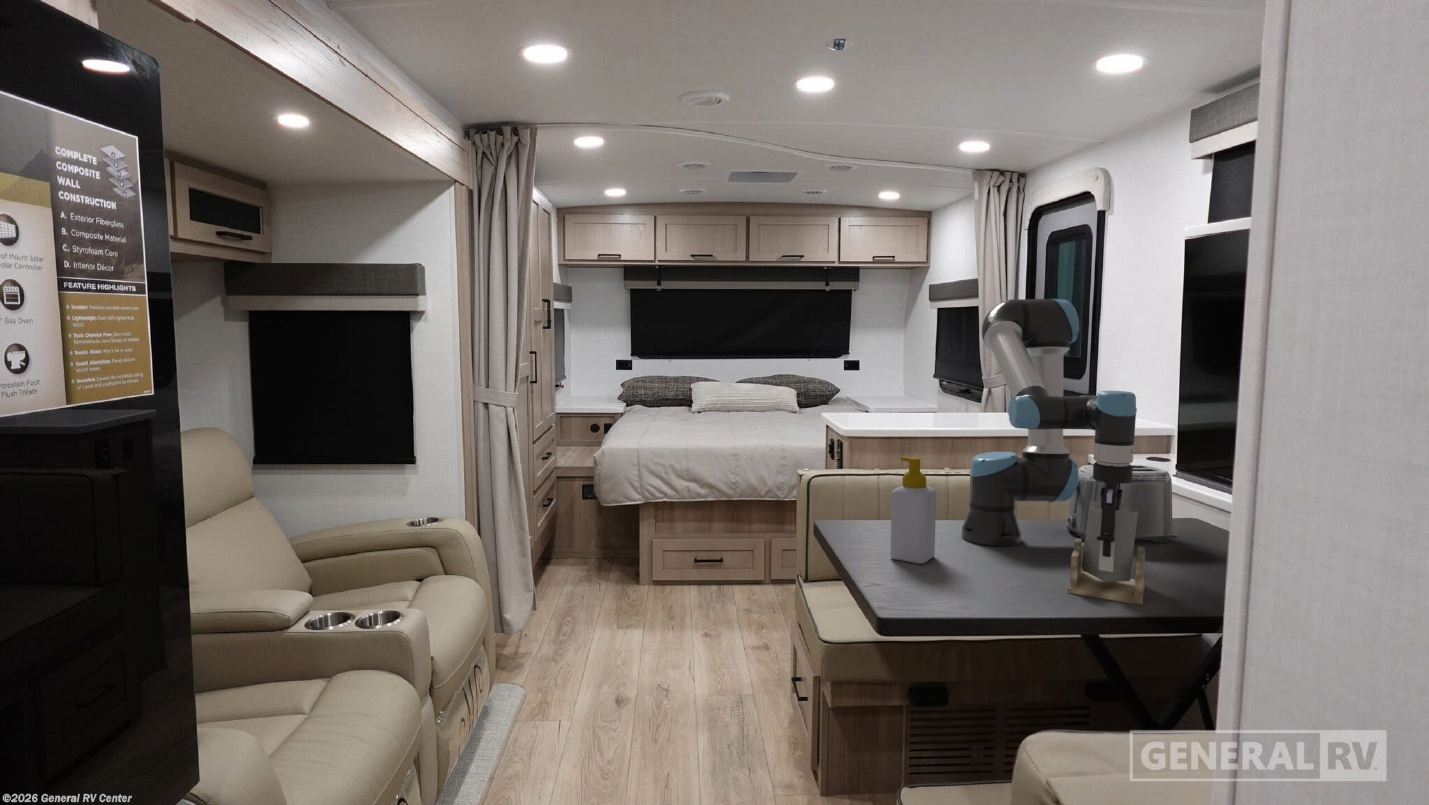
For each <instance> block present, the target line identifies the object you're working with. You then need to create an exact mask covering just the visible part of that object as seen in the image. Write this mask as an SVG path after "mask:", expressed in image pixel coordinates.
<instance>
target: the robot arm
mask: <svg viewBox="0 0 1429 805" xmlns="http://www.w3.org/2000/svg"><path fill="white" fill-rule="evenodd" d="M1079 332H1080V322H1079V316H1078V313H1077V310H1076V308H1075V307H1074V305H1073V304H1072V302H1070V301H1069V300H1067V299H1058V298H1035V299H1034V298H1033V299H1032V298H1028V299H1023V298H1022V299H1017V298H1013V299H1006V300H1003V301H1001V302H1000V303H997V304H996V305H995V306H993V307H992V308H991V309H990V310H989V311H988V312H987V314H986V315H985V317H984V319H983V322H982V326H981V336H982V337H981V338H982V340H983V343H984V345H985V348H987V349H988V350H990V352H992V354H993V355H994V357H995V360H996V363H997V365H998V367H999V370H1000V372H1001V374H1002V376H1003V379H1004V381H1005V383H1006V386H1007V388H1008V390H1009V393H1010V395H1011V399H1010V400H1009V402H1008V410H1007V414H1008V417H1009V418H1008V420H1009V422H1010V425H1011V426H1012V427H1013V428H1015V429H1025V430H1027V433H1028V434H1027V435H1028V436H1027V442H1028V444H1027V445H1026V446H1025V448H1023V449H1022V450H1021V455H1022V456H1021V457H1018V455H1017V453H1015V452H1013V451H989V452H984V453H978V454H977V455H975V456H973V457H972V459H971V462H970V470H969V498H968V499H969V502H968V506H969V507H968V511H967V513H966V517H965V519H964V521H963V525H962V526H961V527H962V528H961V538H963V539H964V540H966V541H967V542H971V543H974V544H978V545H985V546H991V547H993V546H994V547H1009V546H1014V545H1015V546H1016V545H1018V544H1021V542H1022V531H1021V528H1020V525H1019V521H1018V518H1017V515H1016V502H1047V503H1056V502H1065V501H1068V500H1070V498H1071V497H1072V495H1073V494H1074V492H1075V490H1076V487H1077V483H1078V475H1079V473H1078V469H1079V468H1078V463H1077V461H1076V460H1075V459H1074V458H1072V457H1070V450H1068V449H1067V448H1066V447H1065V446H1064V430H1089V431H1090V430H1091V431H1094V442H1093V460H1094V461H1095V462H1094V463H1093V464H1092V465H1093V478H1094V479H1095V480H1096V481H1099V482H1104V483H1105V488H1103V487H1102V490H1101V498H1102V499H1101V509H1102V518H1101V532H1100V537H1098V536H1097V540H1100V554H1099V570H1103V571H1110V572H1113V567H1114V547H1115V538H1114V533H1115V511H1116V510H1119V505H1121V497H1122V489H1120V487H1121V485H1120V483H1121V484H1127V483H1130V482H1131V481H1132V474H1133V467H1132V465H1133V464H1132V463H1134V454H1137V453H1138V450H1137V449H1136V448H1134V447H1135V446H1134V444H1135V433H1136V418H1137V411H1138V409H1137V397H1136V396H1137V395H1136V394H1135V393H1133V392H1131V391H1123V390H1101V391H1099V392H1098V393H1097V394H1096V395H1095V394H1084V395H1080V396H1076V395H1075V396H1073V395H1071V396H1064V355H1065V354H1066V353H1067V352H1068V351H1069V350H1070V349H1071V348H1070V347H1071V346H1070V345H1071V344H1072V343H1075V341H1077V339H1078V335H1079V334H1078V333H1079ZM1106 534H1110V535H1106Z"/></svg>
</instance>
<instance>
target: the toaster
mask: <svg viewBox="0 0 1429 805" xmlns="http://www.w3.org/2000/svg"><path fill="white" fill-rule="evenodd" d="M1131 465H1132V467H1133V474H1132V481H1131V482H1130V483H1127V484H1121V483H1120V485H1121V487H1120V489H1122V497H1121V505H1124V506H1127V507H1129V508H1130V509H1132V510H1134V511H1137V512H1138V517H1137V525H1136V533H1135V540H1144V541H1145V540H1147V541H1152V542H1153V543H1162V544H1166V543H1167V542H1170V541H1171V539H1172V537H1173V534H1174V533H1175V531H1174V530H1173V529H1175V527H1173V486H1172V485H1173V482H1172V477H1171V474H1170V473H1169V471H1167V470H1164V469H1161V468H1160V467H1159V468H1158V467H1155V466H1151V465H1146V464H1131ZM1078 473H1079V475H1078V483H1077V487H1076V490H1075V492H1074V494H1073V495H1072V497H1071V498H1069V504H1068V509H1067V515H1066V520H1065V525H1066V529H1067V531H1068V532H1070V533H1072V532H1073V533H1075V534H1077V535H1078V536H1079V537H1080V539H1082V541H1085V537H1086V528H1087V520H1088V512H1089V502H1090V501H1101V499H1102V498H1101V490H1102V487H1103V488H1105V483H1104V482H1099V481H1096V480H1095V479H1094V478H1093V464H1085V465H1084V464H1083V465H1082V466H1080V467H1079V468H1078Z"/></svg>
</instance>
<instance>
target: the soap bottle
mask: <svg viewBox="0 0 1429 805" xmlns="http://www.w3.org/2000/svg"><path fill="white" fill-rule="evenodd" d="M899 460H900V461H903V462H908V471H907V472H905V473H904V474H903V476H902V481H901V482H902V483H901V484H902V485H900V486H898V487H896V488H894V489H893V490H892V492H891V506H890V507H891V508H890V509H891V512H890V513H891V515H890V556H889V557H890V558H891V559H893V560H897V561H902V562H908V563H913V564H918V565H919V564H920V565H921V564H922V565H923V564H925V563H927V562H928V561H929V560H931V559H932V558H934V557H935V553H936V522H937V521H936V518H937V516H936V514H937V513H936V512H937V492H936V490H935V488H933V487H931V486H929V485H927V477H926V475H925V474H924V473H923V472H922V471H921V458H920V457H915V456H900V458H899Z"/></svg>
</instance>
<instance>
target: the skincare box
mask: <svg viewBox="0 0 1429 805" xmlns="http://www.w3.org/2000/svg"><path fill="white" fill-rule="evenodd" d="M1137 517H1138V512H1137V511H1134V510H1132V509H1130V508H1129V507H1127V506H1124V505H1119V510H1116V511H1115V533H1114V538H1115V547H1114V567H1113V572H1110V571H1103V570H1099V554H1100V540H1097V536H1098V537H1100V532H1101V518H1102V509H1101V501H1090V502H1089V512H1088V520H1087V528H1086V537H1085V540H1084V545H1083V562H1082V571H1083V572H1087V573H1089V574H1091V575H1093V576H1095V577H1097V578H1098V579H1100V580H1102V581H1130V579H1131V574H1132V566H1133V556H1134V548H1135V542H1136V539H1135V533H1136V525H1137ZM1106 535H1110V534H1106Z"/></svg>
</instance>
